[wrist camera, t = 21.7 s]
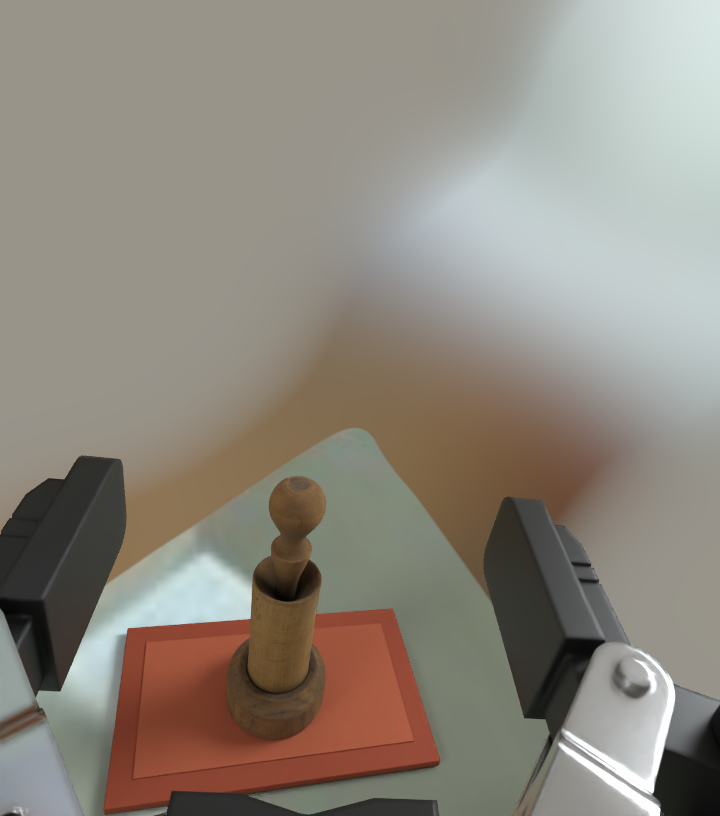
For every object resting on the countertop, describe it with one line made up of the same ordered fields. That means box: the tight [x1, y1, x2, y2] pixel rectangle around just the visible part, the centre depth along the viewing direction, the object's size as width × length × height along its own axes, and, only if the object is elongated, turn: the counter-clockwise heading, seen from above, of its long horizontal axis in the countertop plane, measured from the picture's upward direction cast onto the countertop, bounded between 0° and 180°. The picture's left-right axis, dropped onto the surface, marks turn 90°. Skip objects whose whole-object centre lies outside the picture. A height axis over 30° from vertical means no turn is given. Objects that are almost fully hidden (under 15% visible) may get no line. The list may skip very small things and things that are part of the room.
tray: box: [104, 609, 440, 814], centre depth 41 cm, size 20×12×1 cm, turn 102°
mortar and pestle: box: [226, 476, 326, 740], centre depth 36 cm, size 7×6×18 cm
